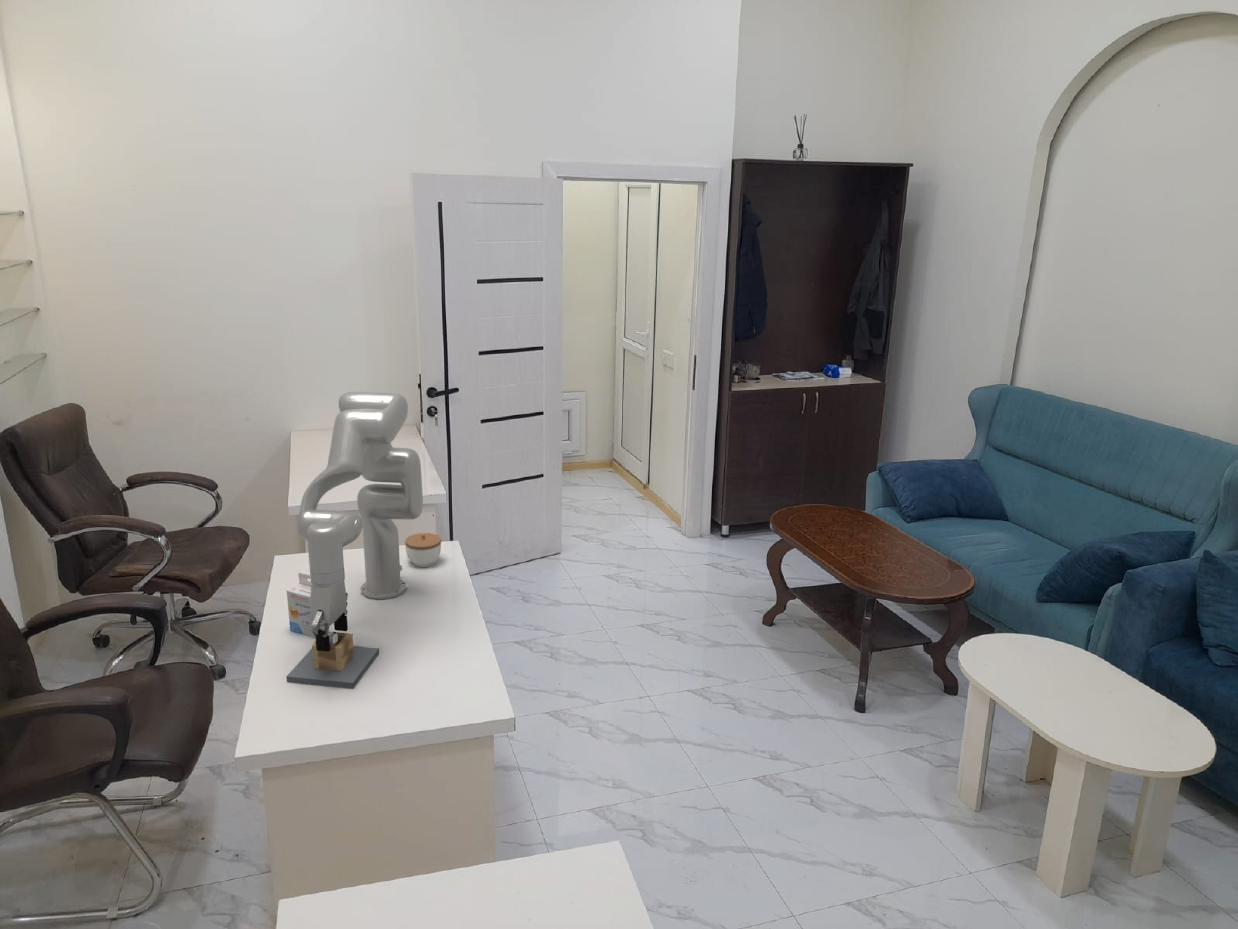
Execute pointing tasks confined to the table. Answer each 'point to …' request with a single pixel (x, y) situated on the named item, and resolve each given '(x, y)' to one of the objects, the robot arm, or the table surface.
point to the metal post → (333, 638)
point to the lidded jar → (423, 549)
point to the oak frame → (335, 654)
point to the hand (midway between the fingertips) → (332, 640)
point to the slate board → (334, 678)
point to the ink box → (301, 606)
